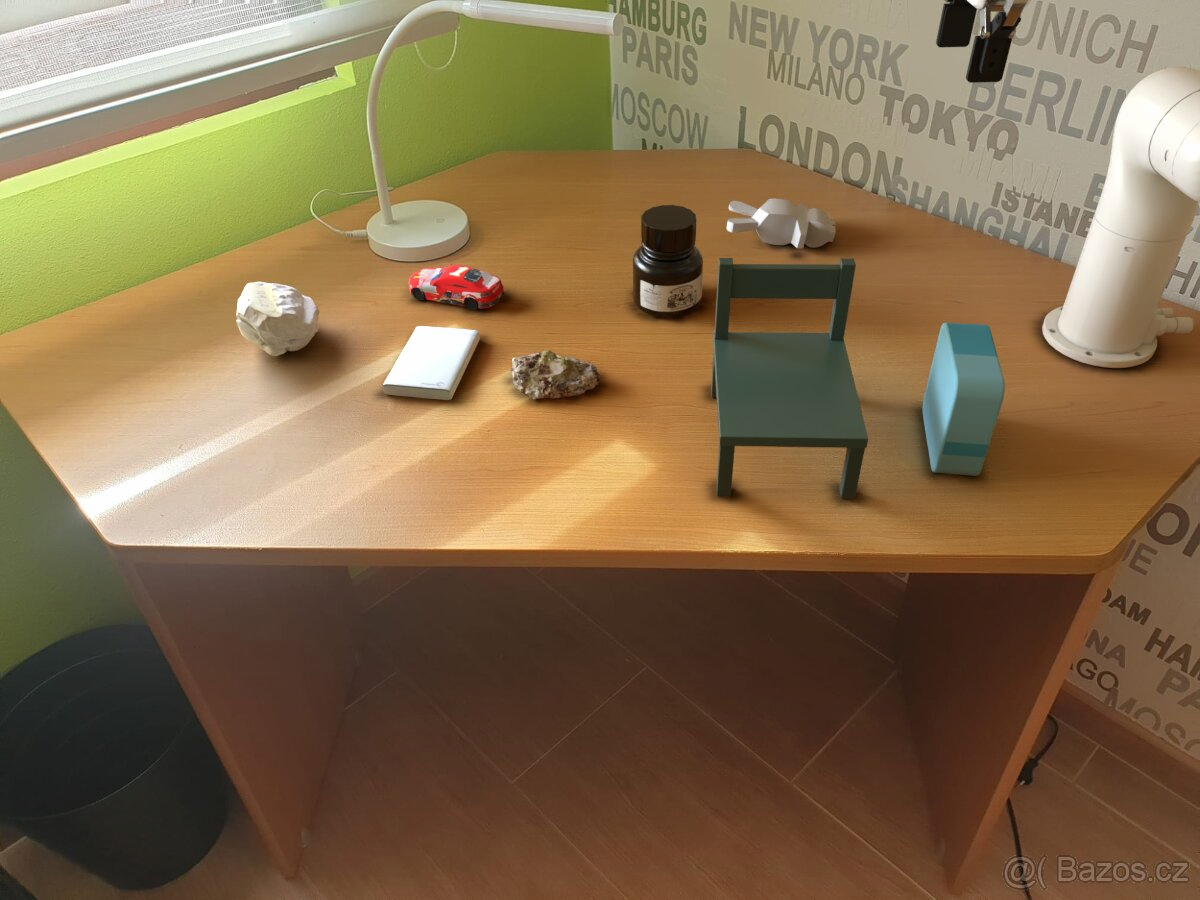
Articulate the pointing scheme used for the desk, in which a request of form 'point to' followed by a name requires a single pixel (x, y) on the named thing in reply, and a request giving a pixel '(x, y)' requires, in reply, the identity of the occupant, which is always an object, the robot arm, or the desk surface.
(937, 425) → the light blue rounded block
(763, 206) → the bunny figurine
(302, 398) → the desk surface
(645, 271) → the ink bottle
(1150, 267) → the robot arm
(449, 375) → the hard drive
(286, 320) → the white rounded lump
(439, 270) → the race car
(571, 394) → the mineral rock
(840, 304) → the chair
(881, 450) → the desk surface
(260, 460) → the desk surface
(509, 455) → the desk surface
